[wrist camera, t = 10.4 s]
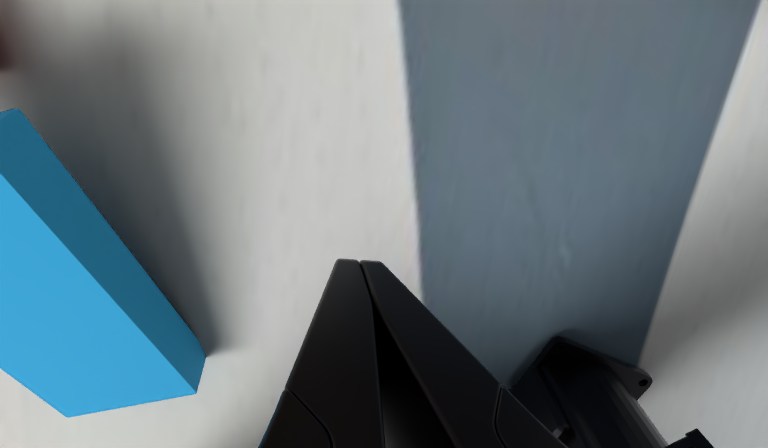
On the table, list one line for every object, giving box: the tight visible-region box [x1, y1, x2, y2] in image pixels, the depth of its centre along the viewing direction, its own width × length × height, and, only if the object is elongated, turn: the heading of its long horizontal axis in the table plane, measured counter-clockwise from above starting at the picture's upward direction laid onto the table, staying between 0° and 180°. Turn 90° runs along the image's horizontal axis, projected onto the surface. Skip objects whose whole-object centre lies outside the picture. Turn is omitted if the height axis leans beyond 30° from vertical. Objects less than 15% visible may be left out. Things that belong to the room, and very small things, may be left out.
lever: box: [0, 109, 206, 417], centre depth 19 cm, size 7×7×18 cm
